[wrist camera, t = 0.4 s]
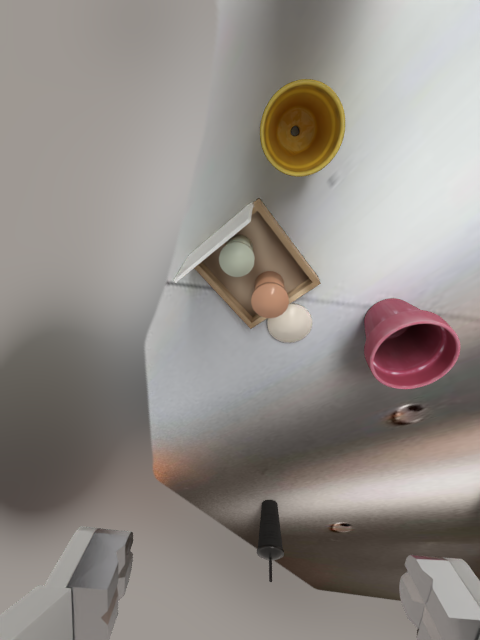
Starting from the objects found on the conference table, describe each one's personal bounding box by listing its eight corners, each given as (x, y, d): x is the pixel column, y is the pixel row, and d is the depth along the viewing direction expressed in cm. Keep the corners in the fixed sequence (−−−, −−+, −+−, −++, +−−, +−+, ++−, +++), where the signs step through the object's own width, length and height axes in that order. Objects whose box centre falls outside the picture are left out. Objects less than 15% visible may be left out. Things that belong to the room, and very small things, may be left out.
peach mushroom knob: (272, 262, 57) (273, 277, 51) (293, 287, 59) (296, 305, 53) (245, 282, 59) (243, 299, 53) (266, 305, 61) (266, 324, 55)
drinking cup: (270, 494, 96) (272, 572, 79) (286, 505, 99) (291, 583, 82) (252, 502, 99) (250, 579, 82) (268, 512, 102) (269, 589, 85)
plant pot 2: (424, 341, 64) (457, 384, 53) (353, 352, 66) (371, 395, 56) (428, 279, 57) (467, 313, 46) (349, 293, 59) (368, 329, 49)
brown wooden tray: (259, 197, 52) (258, 201, 49) (318, 276, 58) (320, 283, 56) (190, 255, 58) (187, 260, 55) (251, 321, 64) (250, 328, 62)
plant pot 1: (277, 181, 50) (280, 191, 42) (249, 113, 46) (245, 109, 37) (340, 148, 47) (356, 151, 39) (316, 71, 43) (329, 57, 34)
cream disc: (295, 294, 60) (295, 296, 60) (320, 326, 64) (320, 328, 63) (258, 318, 64) (258, 320, 63) (284, 347, 67) (284, 349, 66)
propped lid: (251, 201, 50) (248, 218, 40) (254, 205, 50) (252, 223, 40) (189, 254, 55) (173, 280, 45) (192, 257, 55) (177, 284, 45)
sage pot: (241, 225, 54) (238, 235, 48) (261, 251, 56) (261, 263, 51) (216, 246, 56) (211, 257, 51) (237, 269, 58) (234, 283, 53)
